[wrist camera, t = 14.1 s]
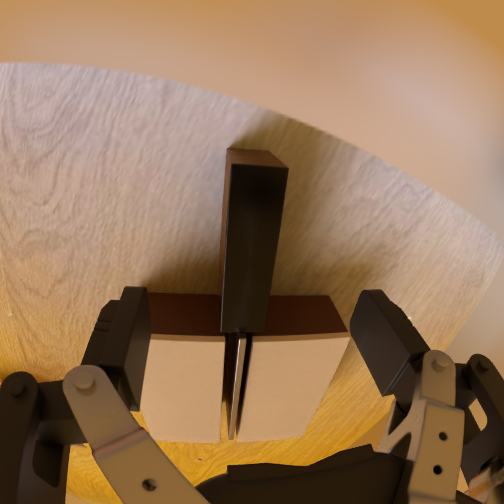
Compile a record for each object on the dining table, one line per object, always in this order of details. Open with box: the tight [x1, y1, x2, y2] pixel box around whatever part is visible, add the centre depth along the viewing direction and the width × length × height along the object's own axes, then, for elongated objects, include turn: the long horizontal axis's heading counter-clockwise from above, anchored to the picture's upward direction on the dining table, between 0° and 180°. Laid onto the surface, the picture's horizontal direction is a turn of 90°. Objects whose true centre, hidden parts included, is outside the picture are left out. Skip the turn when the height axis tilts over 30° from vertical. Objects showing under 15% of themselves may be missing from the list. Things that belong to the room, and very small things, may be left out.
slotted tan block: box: [140, 293, 351, 443], centre depth 21 cm, size 14×14×4 cm
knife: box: [218, 148, 289, 440], centre depth 18 cm, size 22×2×5 cm, turn 174°
